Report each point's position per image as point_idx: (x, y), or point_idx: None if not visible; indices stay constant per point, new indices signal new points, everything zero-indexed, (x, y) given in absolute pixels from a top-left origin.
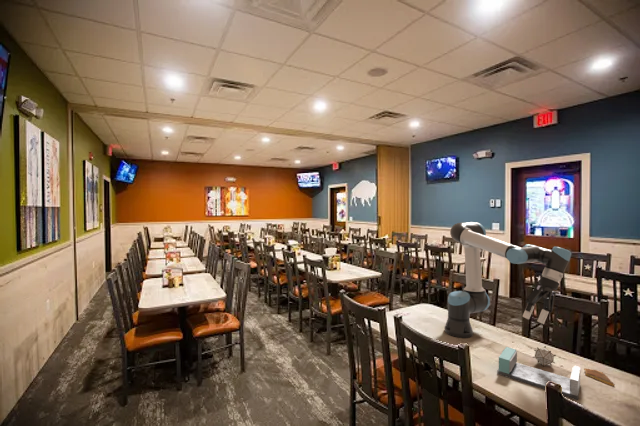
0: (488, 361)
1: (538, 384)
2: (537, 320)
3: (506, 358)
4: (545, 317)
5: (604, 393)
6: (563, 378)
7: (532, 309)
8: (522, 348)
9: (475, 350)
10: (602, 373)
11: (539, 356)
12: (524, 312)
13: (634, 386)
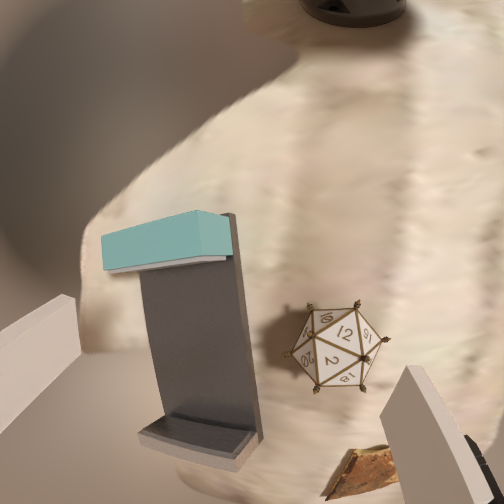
0: (198, 173)
1: (152, 347)
2: (408, 372)
3: (108, 258)
4: (400, 475)
5: (261, 476)
6: (237, 407)
7: (2, 411)
8: (451, 210)
9: (249, 97)
10: (386, 483)
11: (300, 336)
12: (28, 318)
13: None
